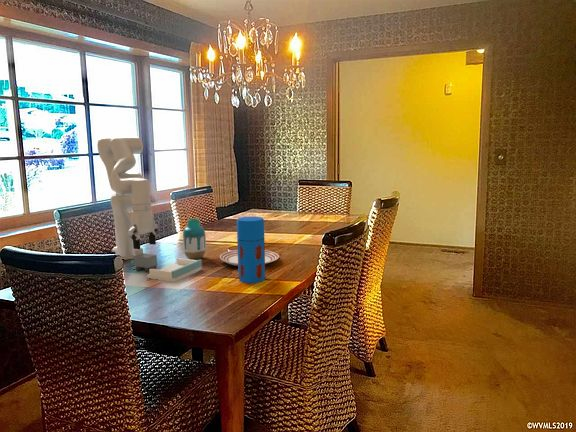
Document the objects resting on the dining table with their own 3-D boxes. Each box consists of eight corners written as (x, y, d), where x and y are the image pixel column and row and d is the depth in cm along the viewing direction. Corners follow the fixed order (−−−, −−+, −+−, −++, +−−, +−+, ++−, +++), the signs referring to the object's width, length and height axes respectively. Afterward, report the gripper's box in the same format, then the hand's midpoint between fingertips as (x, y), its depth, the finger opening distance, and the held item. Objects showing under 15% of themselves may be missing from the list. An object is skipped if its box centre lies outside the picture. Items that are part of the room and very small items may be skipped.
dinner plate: (268, 252, 231) (268, 246, 230) (287, 266, 206) (287, 259, 205) (214, 258, 221) (213, 251, 221) (227, 273, 196) (227, 266, 195)
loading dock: (147, 278, 190) (146, 267, 189) (176, 266, 207) (175, 256, 206) (174, 282, 184) (173, 271, 183) (201, 269, 201) (201, 259, 200)
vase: (184, 262, 214) (182, 221, 210) (183, 256, 224) (181, 218, 220) (207, 260, 216) (205, 220, 213) (205, 254, 226) (203, 216, 223)
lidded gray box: (134, 270, 201) (133, 250, 200) (143, 267, 206) (141, 247, 205) (148, 272, 198) (147, 252, 197) (157, 269, 203) (156, 249, 201)
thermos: (265, 274, 192) (264, 216, 188) (265, 282, 182) (263, 220, 178) (239, 275, 192) (237, 216, 188) (237, 283, 182) (235, 221, 177)
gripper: (148, 205, 207) (151, 242, 209) (120, 210, 191) (123, 250, 194) (162, 205, 203) (164, 243, 206) (134, 210, 188) (137, 251, 190)
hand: (144, 246), depth 200 cm, fingers open, 9 cm apart
